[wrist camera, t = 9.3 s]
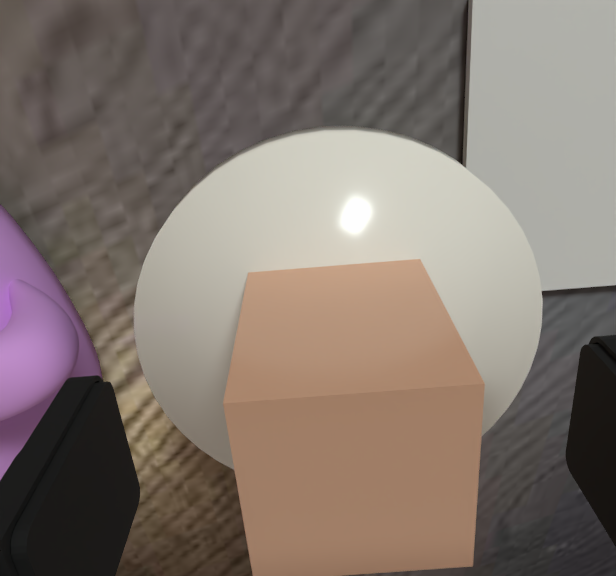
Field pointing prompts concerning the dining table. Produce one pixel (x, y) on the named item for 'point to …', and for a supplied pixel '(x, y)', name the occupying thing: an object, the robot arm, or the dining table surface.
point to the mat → (547, 128)
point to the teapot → (33, 339)
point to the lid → (342, 343)
